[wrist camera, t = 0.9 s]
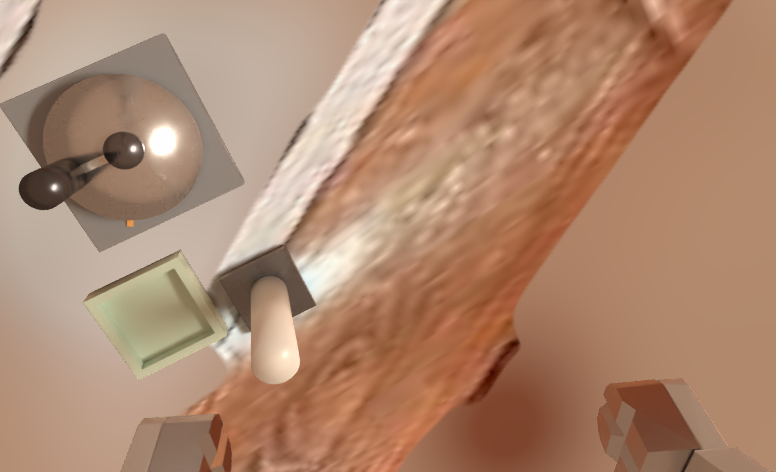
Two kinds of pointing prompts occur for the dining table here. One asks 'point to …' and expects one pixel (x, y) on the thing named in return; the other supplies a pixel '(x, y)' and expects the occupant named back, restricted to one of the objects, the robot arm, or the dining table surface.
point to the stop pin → (272, 332)
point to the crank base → (163, 68)
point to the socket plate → (266, 265)
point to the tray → (157, 315)
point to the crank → (117, 149)
